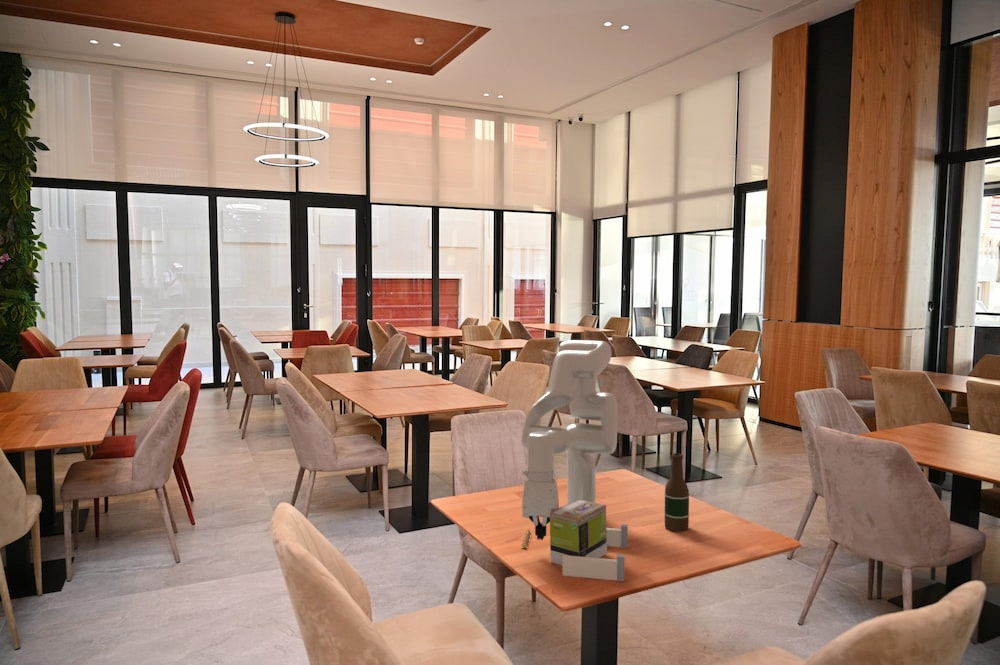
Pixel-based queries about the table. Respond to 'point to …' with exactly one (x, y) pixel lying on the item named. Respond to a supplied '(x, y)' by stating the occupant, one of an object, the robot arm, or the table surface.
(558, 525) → the tea box
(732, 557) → the table surface
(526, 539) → the chocolate bar
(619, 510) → the table surface
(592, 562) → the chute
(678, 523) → the beer bottle
